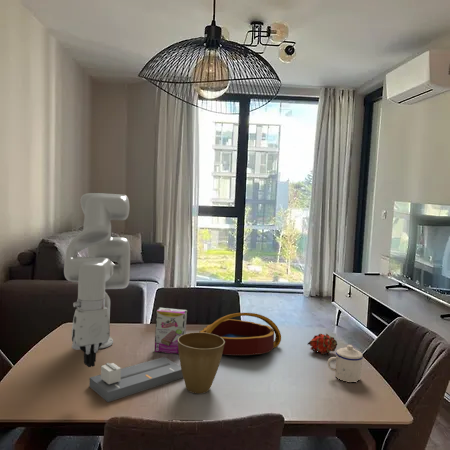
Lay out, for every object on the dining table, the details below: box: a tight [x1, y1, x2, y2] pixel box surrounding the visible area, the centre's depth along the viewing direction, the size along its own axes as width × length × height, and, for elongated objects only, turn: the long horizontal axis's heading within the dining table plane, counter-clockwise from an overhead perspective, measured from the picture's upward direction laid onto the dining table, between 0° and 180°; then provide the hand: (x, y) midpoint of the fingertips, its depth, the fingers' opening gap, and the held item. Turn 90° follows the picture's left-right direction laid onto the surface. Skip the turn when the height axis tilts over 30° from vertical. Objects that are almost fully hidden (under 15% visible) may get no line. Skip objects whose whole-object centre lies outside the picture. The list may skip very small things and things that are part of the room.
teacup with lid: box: [327, 344, 364, 382], centre depth 150 cm, size 12×9×12 cm
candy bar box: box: [154, 307, 188, 355], centre depth 165 cm, size 11×5×16 cm, turn 84°
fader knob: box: [100, 362, 122, 384], centre depth 132 cm, size 5×4×4 cm
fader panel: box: [88, 356, 184, 403], centre depth 139 cm, size 12×28×3 cm, turn 133°
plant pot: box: [178, 331, 225, 395], centre depth 136 cm, size 15×15×16 cm
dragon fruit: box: [307, 333, 338, 355], centre depth 173 cm, size 8×8×12 cm
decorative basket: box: [198, 312, 282, 356], centre depth 173 cm, size 34×29×15 cm
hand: (89, 365), depth 126 cm, fingers closed
